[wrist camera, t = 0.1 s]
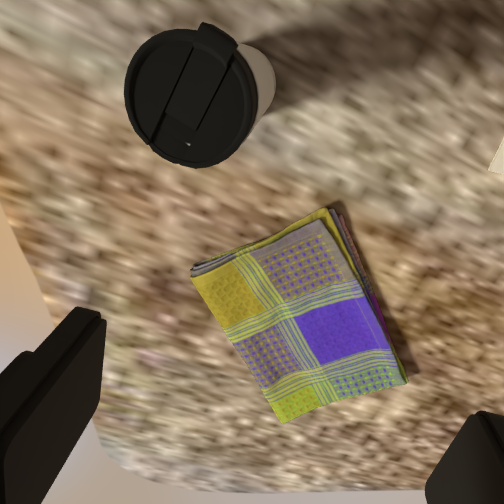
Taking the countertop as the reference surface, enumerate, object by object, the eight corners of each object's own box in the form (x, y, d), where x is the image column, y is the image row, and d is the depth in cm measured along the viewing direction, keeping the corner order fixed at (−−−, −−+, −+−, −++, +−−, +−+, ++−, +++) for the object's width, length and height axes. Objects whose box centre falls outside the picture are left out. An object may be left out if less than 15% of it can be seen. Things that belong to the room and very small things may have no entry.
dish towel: (276, 413, 53) (274, 431, 51) (184, 258, 45) (177, 270, 43) (410, 377, 48) (416, 394, 46) (334, 195, 40) (337, 204, 38)
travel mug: (292, 67, 35) (284, 72, 17) (253, 134, 38) (211, 198, 20) (230, 25, 35) (153, -15, 17) (194, 96, 37) (95, 129, 19)
